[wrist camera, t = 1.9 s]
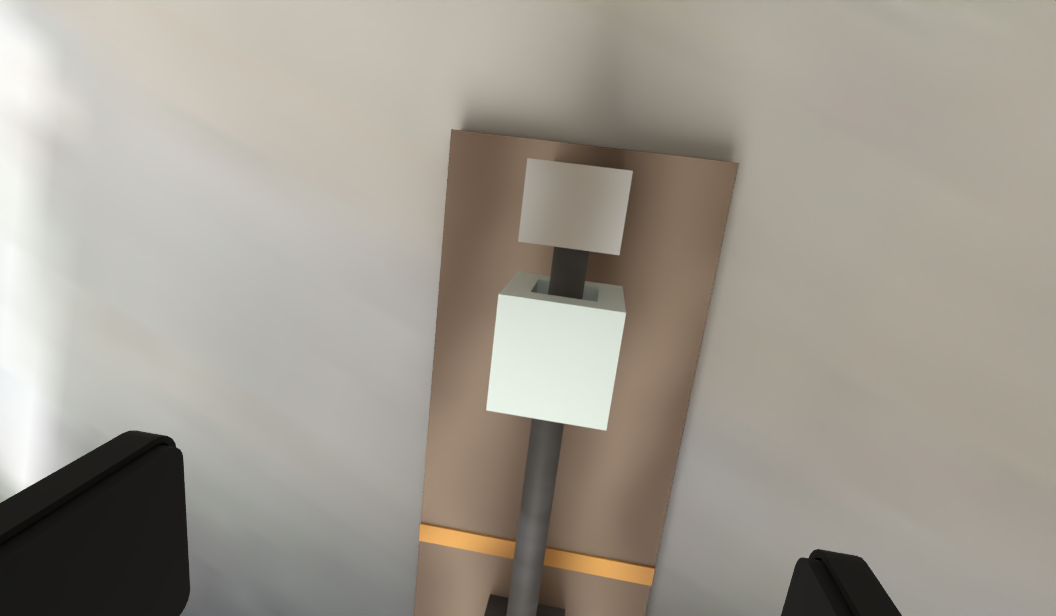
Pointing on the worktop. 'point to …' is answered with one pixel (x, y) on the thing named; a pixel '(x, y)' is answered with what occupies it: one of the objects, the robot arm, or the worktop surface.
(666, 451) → the rod slider rig
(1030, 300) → the worktop surface
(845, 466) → the worktop surface
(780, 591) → the worktop surface
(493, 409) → the sleeve
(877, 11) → the worktop surface
